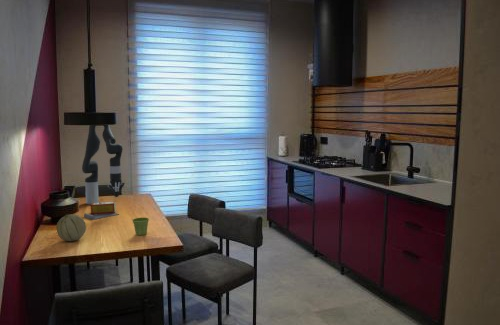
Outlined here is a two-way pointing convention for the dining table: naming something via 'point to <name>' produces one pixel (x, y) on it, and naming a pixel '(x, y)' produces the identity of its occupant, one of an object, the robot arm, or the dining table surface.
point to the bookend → (99, 215)
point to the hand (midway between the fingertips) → (116, 196)
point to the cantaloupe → (71, 227)
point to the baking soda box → (103, 207)
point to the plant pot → (140, 225)
